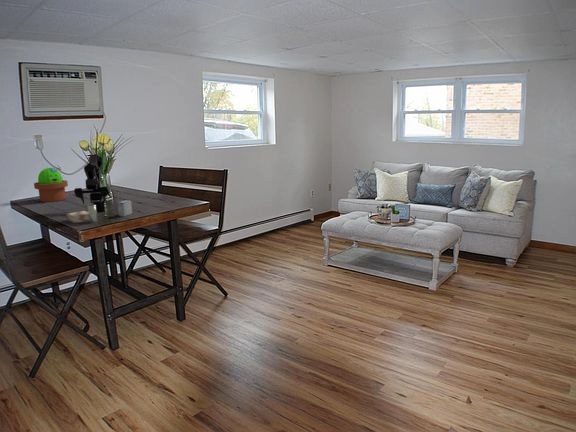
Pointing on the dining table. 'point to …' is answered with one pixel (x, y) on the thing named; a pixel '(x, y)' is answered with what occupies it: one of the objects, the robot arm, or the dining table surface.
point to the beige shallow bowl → (78, 216)
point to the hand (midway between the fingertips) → (92, 203)
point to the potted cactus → (51, 185)
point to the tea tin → (92, 213)
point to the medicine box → (125, 208)
